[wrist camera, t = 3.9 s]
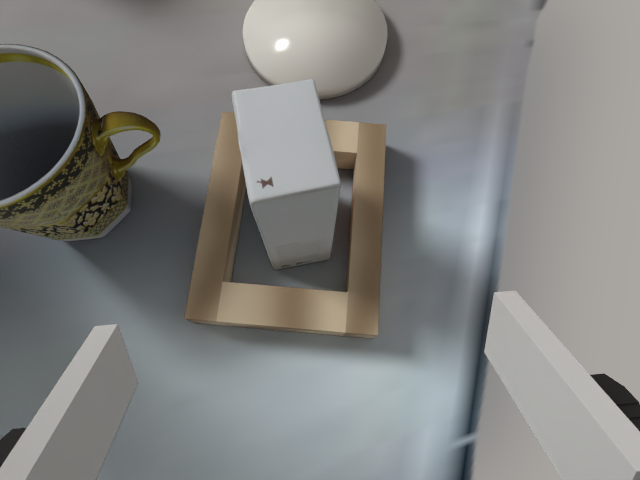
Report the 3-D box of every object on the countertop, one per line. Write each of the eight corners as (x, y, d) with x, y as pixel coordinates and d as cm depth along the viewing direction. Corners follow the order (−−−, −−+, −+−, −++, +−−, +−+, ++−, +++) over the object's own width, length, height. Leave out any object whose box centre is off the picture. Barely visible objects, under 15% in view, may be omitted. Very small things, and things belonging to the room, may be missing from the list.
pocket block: (195, 322, 28) (184, 318, 25) (229, 130, 32) (222, 111, 30) (372, 338, 27) (378, 335, 25) (381, 143, 32) (386, 124, 30)
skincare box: (332, 260, 29) (344, 188, 18) (273, 272, 29) (246, 206, 17) (315, 184, 31) (316, 74, 20) (259, 194, 31) (227, 89, 19)
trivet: (235, 93, 33) (232, 83, 32) (255, -18, 37) (253, -30, 36) (382, 105, 33) (385, 95, 32) (387, -8, 37) (389, -20, 36)
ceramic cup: (10, 272, 29) (-141, 222, 19) (26, 147, 32) (-98, 49, 22) (198, 253, 29) (141, 196, 20) (195, 132, 32) (146, 31, 23)
